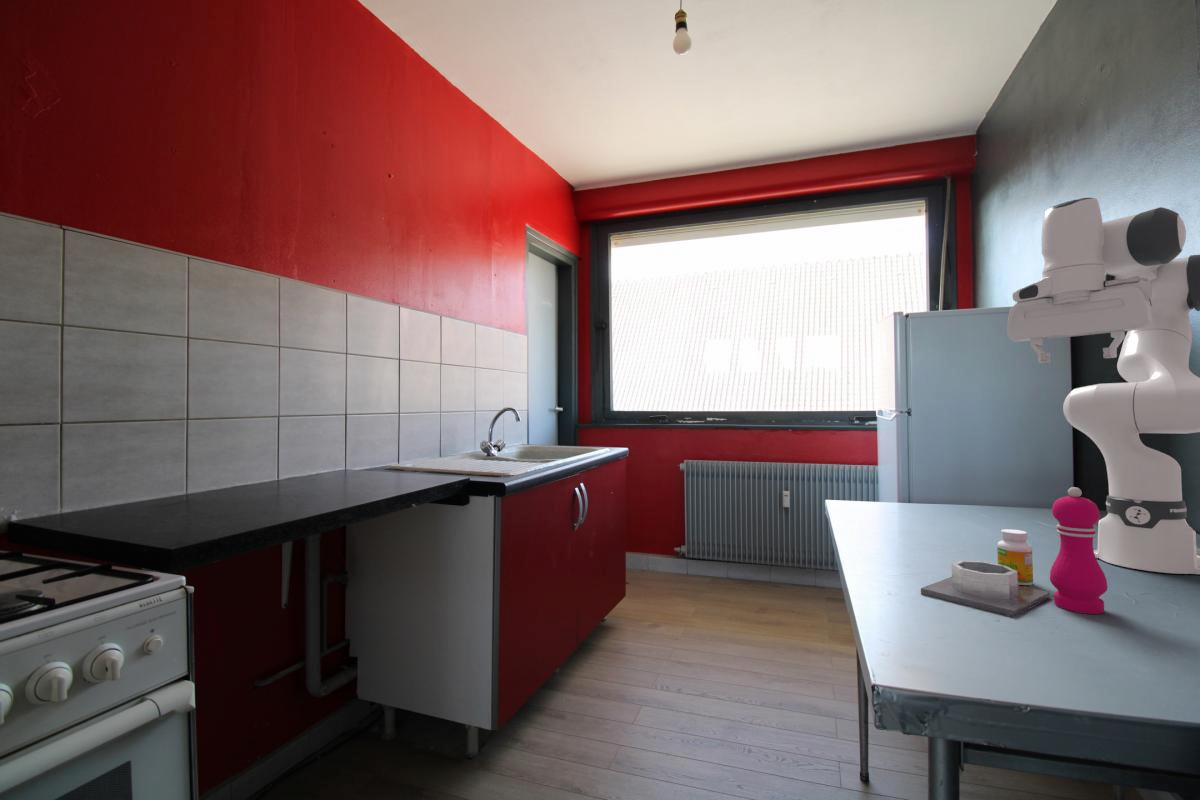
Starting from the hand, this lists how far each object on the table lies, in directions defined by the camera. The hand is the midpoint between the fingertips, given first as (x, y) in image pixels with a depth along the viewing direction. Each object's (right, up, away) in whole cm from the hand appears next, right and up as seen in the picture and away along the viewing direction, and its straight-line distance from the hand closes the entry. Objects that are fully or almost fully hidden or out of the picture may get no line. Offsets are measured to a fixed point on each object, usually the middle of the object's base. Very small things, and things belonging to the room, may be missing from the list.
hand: (1075, 360), depth 100 cm
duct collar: (-20, -42, -4) cm, 47 cm away
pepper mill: (-9, -42, -10) cm, 44 cm away
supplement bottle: (-8, -43, +4) cm, 44 cm away
